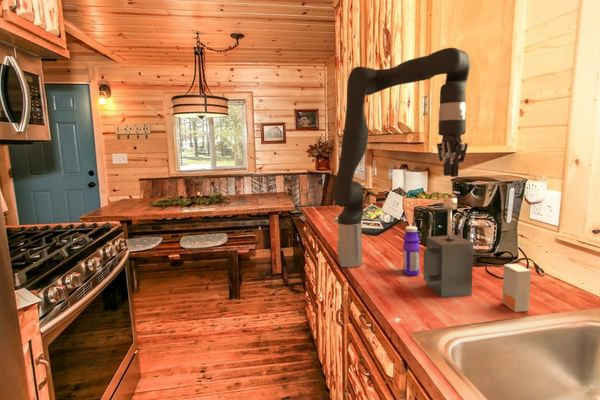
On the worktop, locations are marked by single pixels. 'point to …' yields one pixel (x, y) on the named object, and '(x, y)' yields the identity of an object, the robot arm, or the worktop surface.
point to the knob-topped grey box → (448, 266)
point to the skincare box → (516, 287)
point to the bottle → (411, 251)
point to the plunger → (449, 213)
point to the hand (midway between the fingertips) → (450, 175)
